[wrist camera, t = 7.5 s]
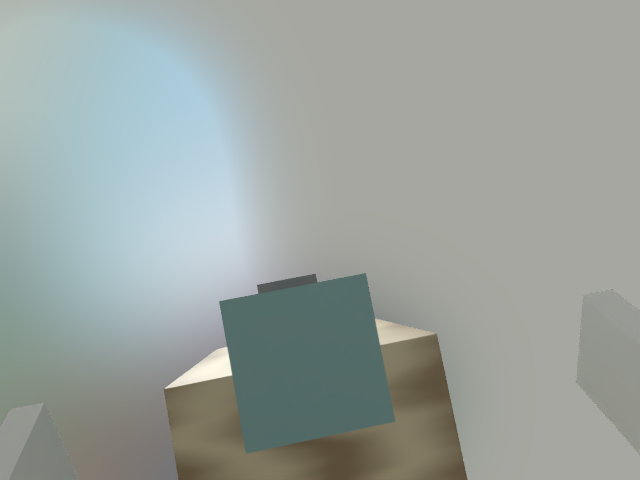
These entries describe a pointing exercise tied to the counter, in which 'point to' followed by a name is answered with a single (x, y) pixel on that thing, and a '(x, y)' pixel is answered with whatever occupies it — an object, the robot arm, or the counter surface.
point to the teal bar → (305, 361)
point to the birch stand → (331, 451)
